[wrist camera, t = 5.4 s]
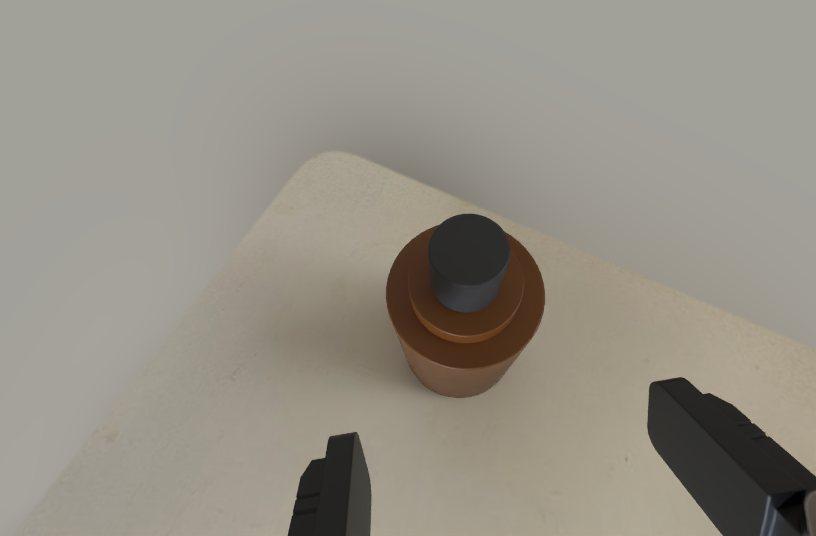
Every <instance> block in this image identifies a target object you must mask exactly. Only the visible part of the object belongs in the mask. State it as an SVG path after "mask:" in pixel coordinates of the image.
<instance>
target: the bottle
mask: <svg viewBox="0 0 816 536" xmlns="http://www.w3.org/2000/svg"><path fill="white" fill-rule="evenodd" d="M386 301H387V308H388V312H389V316H390V319H391V321H392V323H393V326H394V328H395V331H396V333H397V335H398V338H399V340H400V343H401V345H402V347H403V350H404V352H405V355H406V357H407V359H408V362H409V364H410V367H411V369H412V370H413V372H414V374H415V375H416V376H417V378H418V379H419V380H420V381H421V382H422V383H423V384H424V385H426V386H427V387H428V388H429V389H431V390H433V391H435V392H437V393H439V394H441V395H445V396H448V397H455V398H465V397H472V396H475V395H478V394H481V393H483V392H485V391H487V390H488V389H490V388H491V387H493V386H494V385H495V384H496V383H497V382H498V381H499V380H500V379H501V377H502V376H503V375H504V374H505V372H506V371H507V370H508V368H509V367H510V366H511V365H512V363H513V362H514V361H515V359H516V358H517V357H518V356H519V354H520V353H521V352H522V350H523V349H524V348H525V347H526V345H527V344H528V343H529V341H530V340H531V339H532V337H533V336H534V334H535V333H536V331H537V329H538V327H539V325H540V322H541V319H542V316H543V312H544V305H545V290H544V283H543V280H542V276H541V273H540V271H539V268H538V266H537V264H536V262H535V261H534V259H533V257H532V256H531V255H530V253H529V252H528V251H527V250H526V248H525V247H524V246H523V245H522V244H521V243H520V242H518V241H517V240H516V239H515V238H513V237H512V236H511V235H509V234H507V233H506V232H504V231H503V230H502V228H501V227H500V226H499V225H498V224H497V223H495V222H494V221H492V220H491V219H489V218H487V217H484V216H481V215H477V214H461V215H457V216H453V217H451V218H449V219H447V220H445V221H444V222H443V223H441V224H440V225H438V226H435V227H433V228H430V229H428V230H426V231H424V232H422V233H421V234H419V235H418V236H416V237H415V238H414V239H412V240H411V241H410V242H409V243H408V244H407V245H406V246H405V247H404V248H403V249H402V251H401V252H400V253H399V255H398V256H397V258H396V259H395V261H394V263H393V265H392V267H391V270H390V273H389V276H388V280H387V286H386Z"/></svg>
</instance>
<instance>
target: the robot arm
mask: <svg viewBox="0 0 816 536" xmlns="http://www.w3.org/2000/svg"><path fill="white" fill-rule="evenodd" d="M647 428H648V434H649V437H650V440H651V442H652V444H653V446H654V448H655V450H656V451H657V452H658V454H659V455H660V456H661V457H662V459H663V460H664V461H665V463H666V464H667V465H668V466H669V468H670V469H671V470H672V471H673V473H674V474H675V475H676V477H677V478H678V479H679V480H680V482H681V483H682V484H683V486H684V487H685V488H686V489H687V491H688V492H689V493H690V494H691V496H692V497H693V498H694V500H695V501H696V502H697V503H698V505H699V506H700V507H701V508H702V510H703V511H704V512H705V514H706V515H707V516H708V517H709V519H710V520H711V521H712V523H713V524H714V525H715V526H716V528H717V529H718V530H719V531H720V533H721V534H722V535H723V536H816V477H815V476H814V475H813V474H812V473H811V472H810V471H809V470H807V469H806V468H805V467H804V466H803V465H802V464H800V463H799V462H798V461H797V460H796V459H795V458H794V457H792V456H791V455H790V454H789V453H788V452H787V451H785V450H784V449H783V448H782V447H781V446H780V445H778V444H777V443H776V442H775V441H774V440H773V439H772V438H770V437H767V436H766V434H765V432H763V431H762V430H761V429H760V428H759V427H758V426H757V425H755V424H754V423H753V424H752V423H751V420H750V419H748V418H747V417H746V416H745V415H744V414H743V413H741V412H740V411H739V410H738V409H737V408H736V407H735V406H733V405H732V404H730V403H728V402H726V401H724V400H722V399H720V398H718V397H716V396H714V395H712V394H710V393H708V394H702V393H701V392H700V391H699V390H698V389H697V388H696V387H694V386H693V385H692V384H691V383H690V382H689V381H688V380H686V379H685V378H682V377H679V378H673V379H667V380H661V381H655V382H652V383H651V384H650V387H649V404H648V423H647ZM296 497H297V500H296V501H295V505H294V510H293V516H292V519H291V523H290V528H289V532H288V536H370V525H371V484H370V477H369V472H368V468H367V465H366V461H365V457H364V453H363V450H362V446H361V442H360V439H359V435H358V433H357V432H353V433H347V434H341V435H335V436H330V437H329V439H328V445H327V451H326V457H325V458H322V459H316V460H312V461H311V462H310V464H309V465H308V467H307V469H306V470H305V472H304V473H303V475H302V476H301V478H300V483H299V487H298V492H297V496H296Z"/></svg>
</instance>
